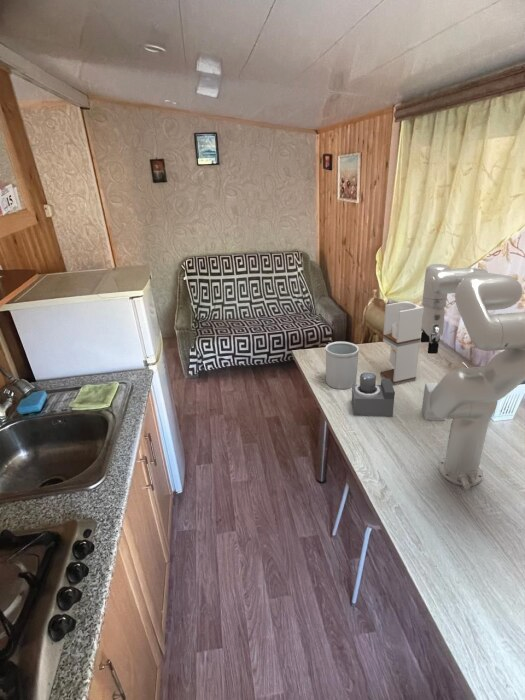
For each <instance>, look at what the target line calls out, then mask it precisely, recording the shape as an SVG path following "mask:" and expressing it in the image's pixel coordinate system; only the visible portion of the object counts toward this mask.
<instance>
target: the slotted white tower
mask: <svg viewBox="0 0 525 700" xmlns="http://www.w3.org/2000/svg"><path fill="white" fill-rule="evenodd" d="M423 309H424V307H423V306H422V305H418V304H416V303H414V302H411V301H409V300H406V301H401V302H400V301H399V302H395V303H390V304H389V303H388V304H387V303H386V304H385V306H384V320H383V321H384V322H383V336H382V342H383V343H385V344H387V346H390V353H389V362H390V364H391V366H392V367H393V368H391V369H386V370H383V371H380V377H382V378H389V379H390V380H391V383H392V386H393V387H394V386H395V387H396V386H399V385H403V384H408V383H411V381H412V382H415V381H417V380H416V378H417V370H418V361H419V354H420V353H419V352H420V345H421V332H422V316H423ZM407 382H408V383H407Z"/></svg>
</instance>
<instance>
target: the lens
mask: <svg viewBox="0 0 525 700" xmlns="http://www.w3.org/2000/svg"><path fill="white" fill-rule="evenodd" d="M359 376H360V377H359V384H360V392H362V393H365V394H372V393H375V387H376V385H377V384H376V381H377V375H376V374H375V373H372V372H362V373H361V374H360V375H359Z"/></svg>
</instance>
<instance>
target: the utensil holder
mask: <svg viewBox="0 0 525 700" xmlns="http://www.w3.org/2000/svg"><path fill="white" fill-rule="evenodd" d="M324 350H325V382H326V384H327V385H328V386H329V387H330V388H333V389H337V390H346V389H352V385H357V384H356V383H357V377H358V376H357V375H358V374H357V373H358V365H359V364H358V361H359V360H358V359H359V352H360V347H359V346H358V345H357V344H355V343H353V342H349V341H334V342H329V343H327V344H326V345H325V347H324Z"/></svg>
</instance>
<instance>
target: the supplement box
mask: <svg viewBox="0 0 525 700" xmlns="http://www.w3.org/2000/svg"><path fill="white" fill-rule="evenodd" d="M438 383H439V382H425V383H424V388H423V389H424V390H423V397H422V398H423V399H422V406H421V412H422V415H423V417H424V420H427V421H428V420H429V421H438V422H439V421H443V422H444V421H445V420H446V419H442V418H439V417H437V416H436V415H435V414H434V413H433V412H432V410H431V407H430V396H431V393H432V391H433V389H434V388H435V387H436V386H437V384H438Z"/></svg>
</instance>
